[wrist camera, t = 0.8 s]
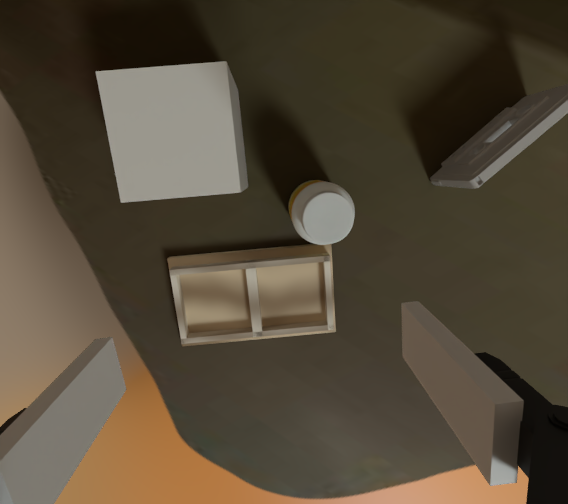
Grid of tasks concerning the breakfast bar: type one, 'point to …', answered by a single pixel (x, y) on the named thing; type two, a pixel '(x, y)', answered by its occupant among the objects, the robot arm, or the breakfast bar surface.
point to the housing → (174, 131)
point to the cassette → (502, 139)
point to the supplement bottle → (321, 212)
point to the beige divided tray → (253, 294)
